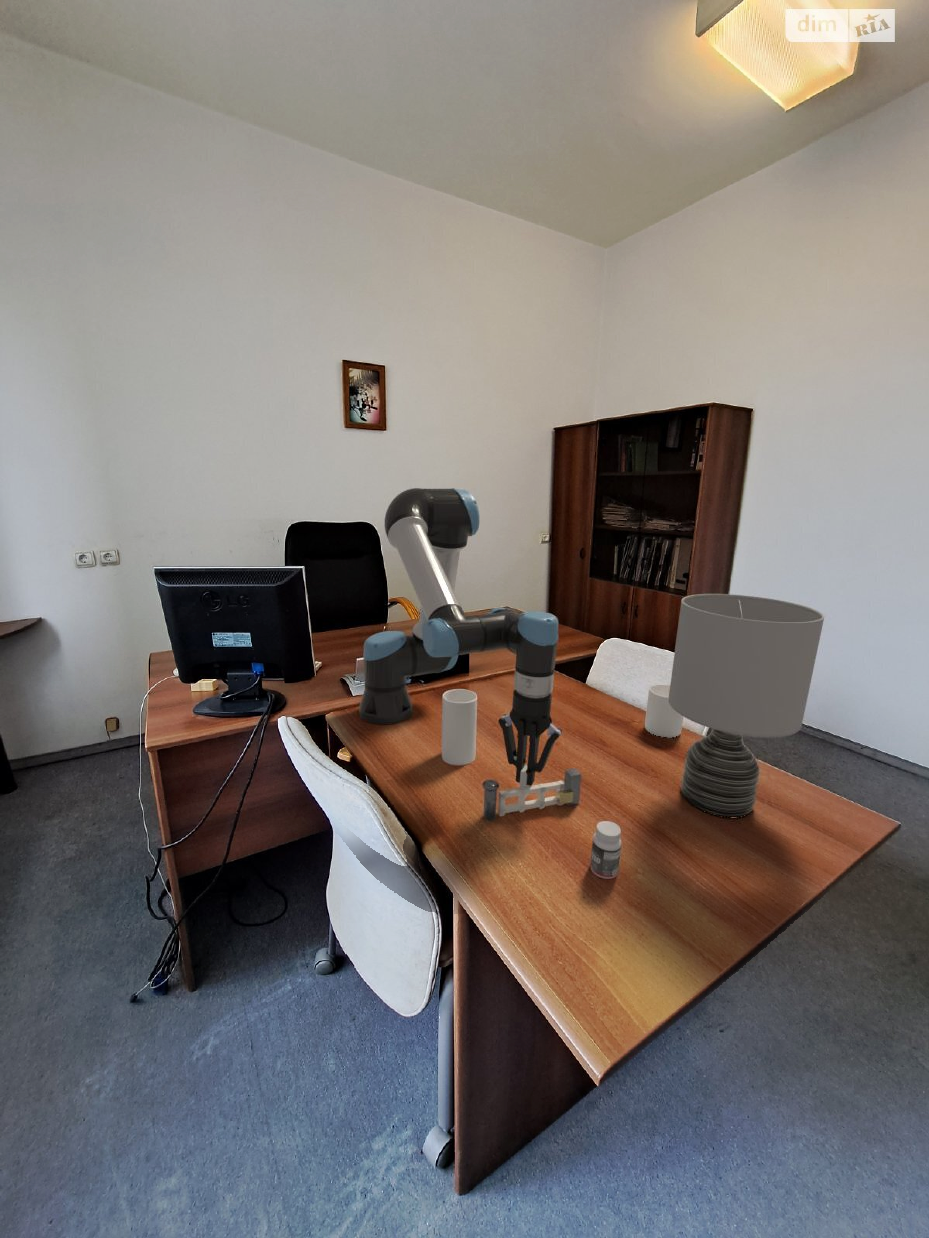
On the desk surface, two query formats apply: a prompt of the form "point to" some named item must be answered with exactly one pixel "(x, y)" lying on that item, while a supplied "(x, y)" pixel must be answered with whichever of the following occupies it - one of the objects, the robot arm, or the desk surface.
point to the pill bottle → (606, 850)
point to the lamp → (739, 688)
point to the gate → (532, 803)
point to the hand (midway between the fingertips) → (523, 796)
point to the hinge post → (490, 799)
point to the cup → (459, 726)
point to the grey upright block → (570, 788)
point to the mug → (662, 713)
